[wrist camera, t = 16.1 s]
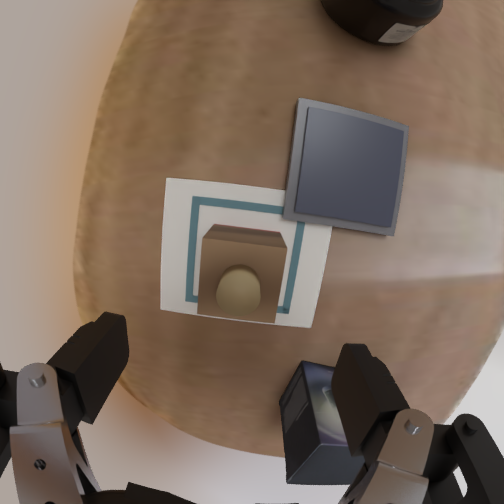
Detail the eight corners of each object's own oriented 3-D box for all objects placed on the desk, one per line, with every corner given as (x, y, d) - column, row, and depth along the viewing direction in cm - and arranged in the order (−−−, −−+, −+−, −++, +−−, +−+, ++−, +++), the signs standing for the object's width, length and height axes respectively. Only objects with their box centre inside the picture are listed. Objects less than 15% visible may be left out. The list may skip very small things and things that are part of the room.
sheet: (167, 177, 21) (166, 177, 20) (336, 198, 21) (337, 198, 21) (161, 308, 23) (160, 309, 23) (310, 326, 24) (311, 328, 23)
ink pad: (296, 101, 19) (300, 95, 17) (401, 128, 19) (411, 125, 18) (281, 216, 21) (284, 220, 20) (387, 233, 22) (396, 237, 20)
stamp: (213, 223, 21) (195, 246, 15) (280, 231, 21) (291, 258, 15) (208, 285, 23) (190, 329, 16) (270, 293, 23) (276, 340, 16)
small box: (390, 372, 25) (430, 442, 15) (360, 414, 27) (386, 483, 17) (301, 356, 25) (322, 445, 15) (276, 402, 26) (283, 486, 16)
